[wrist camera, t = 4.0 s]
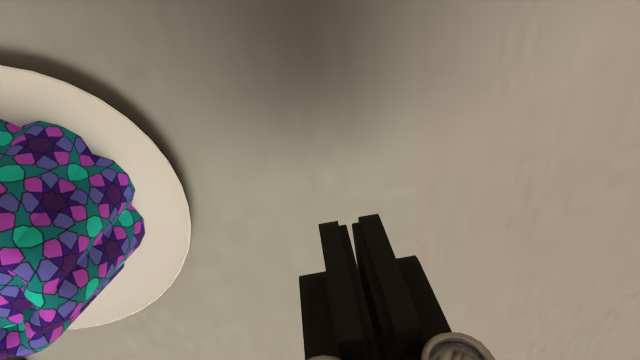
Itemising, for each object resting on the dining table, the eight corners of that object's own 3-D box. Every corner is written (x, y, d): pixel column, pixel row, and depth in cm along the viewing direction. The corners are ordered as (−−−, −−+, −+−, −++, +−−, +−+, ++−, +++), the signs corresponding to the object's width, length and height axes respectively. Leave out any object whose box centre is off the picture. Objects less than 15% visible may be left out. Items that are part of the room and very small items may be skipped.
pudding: (118, 20, 14) (45, 57, 9) (231, 283, 20) (219, 384, 15) (-231, 104, 14) (-471, 181, 9) (-16, 340, 20) (-100, 458, 15)
